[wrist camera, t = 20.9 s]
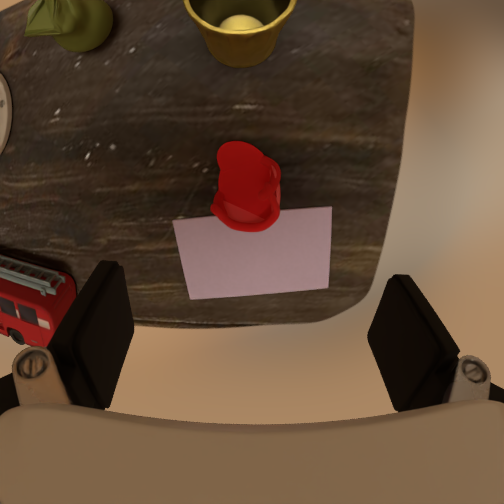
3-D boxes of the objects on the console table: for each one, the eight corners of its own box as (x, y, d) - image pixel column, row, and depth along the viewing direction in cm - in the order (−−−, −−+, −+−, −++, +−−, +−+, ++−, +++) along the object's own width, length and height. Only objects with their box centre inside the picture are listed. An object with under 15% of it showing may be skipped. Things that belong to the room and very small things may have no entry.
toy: (-26, 285, 34) (-37, 230, 30) (83, 322, 38) (78, 262, 33) (-52, 314, 27) (-70, 256, 23) (61, 364, 30) (48, 301, 26)
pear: (128, 5, 20) (80, -24, 11) (114, 54, 22) (58, 45, 13) (80, 6, 19) (22, -14, 10) (67, 53, 21) (3, 50, 12)
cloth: (190, 298, 36) (190, 299, 35) (173, 219, 31) (172, 220, 30) (327, 286, 35) (328, 288, 35) (331, 205, 30) (332, 206, 30)
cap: (217, 247, 28) (215, 199, 31) (283, 240, 28) (273, 193, 31) (203, 182, 21) (204, 134, 25) (288, 174, 21) (275, 128, 25)
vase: (284, 59, 23) (324, 31, 11) (216, 76, 24) (190, 61, 12) (265, 1, 20) (286, -70, 8) (198, 18, 21) (158, -40, 9)
